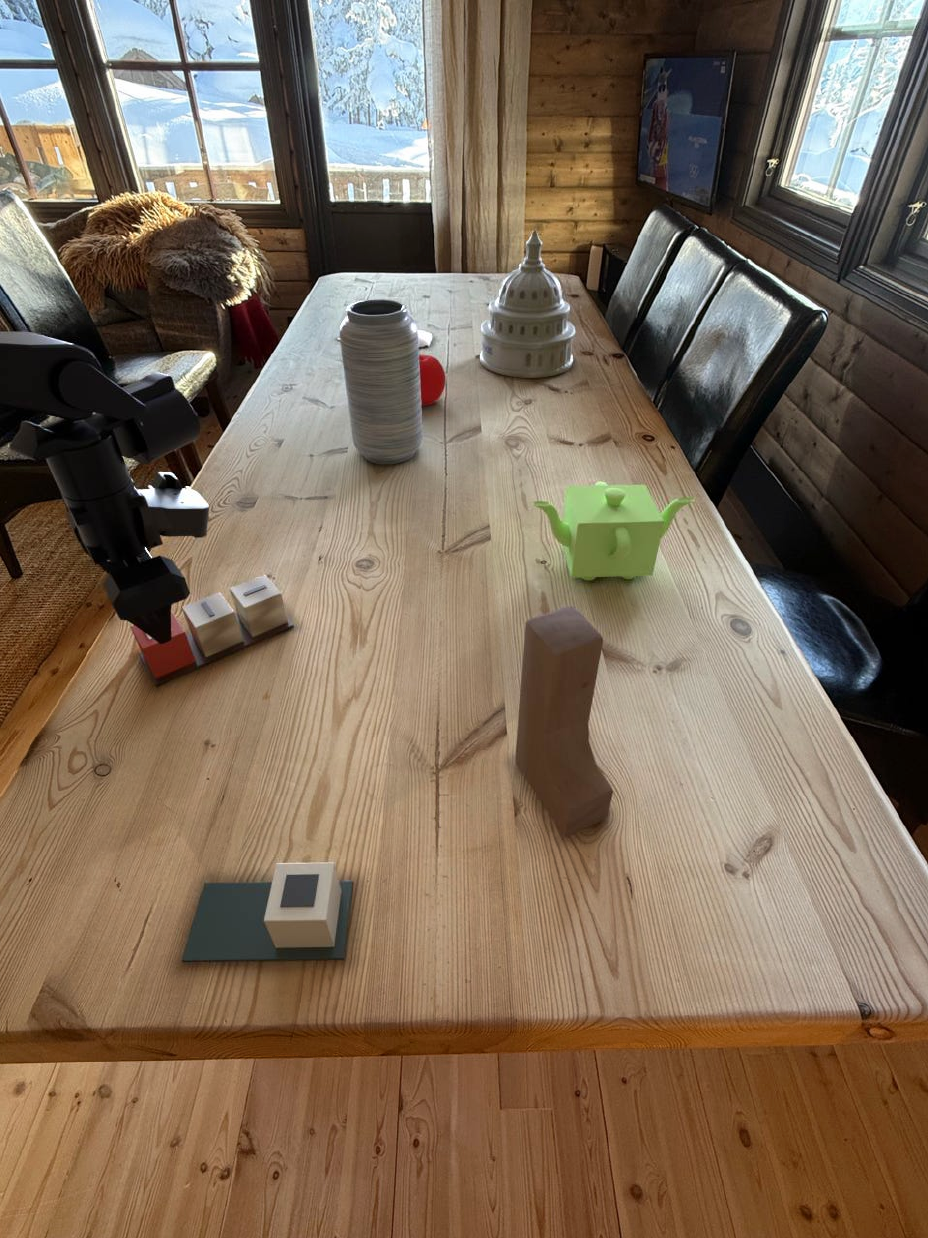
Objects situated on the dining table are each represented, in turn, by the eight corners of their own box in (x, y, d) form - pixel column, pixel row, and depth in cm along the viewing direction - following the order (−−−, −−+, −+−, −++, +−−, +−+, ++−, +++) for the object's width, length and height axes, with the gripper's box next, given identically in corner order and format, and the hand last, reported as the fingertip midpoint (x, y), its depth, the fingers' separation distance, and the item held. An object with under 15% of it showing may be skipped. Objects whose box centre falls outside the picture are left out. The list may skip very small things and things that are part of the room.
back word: (156, 687, 70) (141, 654, 67) (139, 656, 74) (124, 623, 70) (294, 627, 77) (286, 594, 74) (272, 601, 81) (264, 569, 78)
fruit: (410, 389, 131) (407, 337, 125) (452, 396, 129) (451, 343, 122) (390, 407, 125) (385, 353, 118) (433, 414, 122) (432, 360, 116)
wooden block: (608, 820, 58) (643, 676, 46) (564, 840, 56) (589, 697, 44) (553, 746, 64) (573, 602, 52) (513, 762, 62) (523, 618, 51)
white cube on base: (182, 963, 49) (162, 933, 46) (205, 885, 53) (188, 853, 50) (344, 960, 49) (335, 931, 46) (353, 883, 53) (346, 851, 50)
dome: (500, 216, 136) (596, 223, 131) (496, 341, 153) (582, 351, 147) (465, 236, 122) (572, 244, 117) (466, 371, 138) (559, 384, 133)
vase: (340, 451, 111) (321, 306, 96) (396, 431, 117) (385, 291, 102) (381, 476, 104) (366, 324, 89) (437, 454, 110) (432, 307, 95)
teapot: (526, 565, 86) (531, 494, 79) (579, 522, 94) (588, 453, 87) (631, 612, 79) (647, 537, 72) (679, 560, 87) (698, 489, 80)
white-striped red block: (155, 679, 70) (142, 648, 67) (143, 656, 73) (129, 626, 70) (196, 661, 72) (184, 631, 69) (182, 640, 75) (171, 610, 72)
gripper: (223, 499, 56) (260, 634, 67) (155, 425, 68) (196, 550, 78) (85, 543, 51) (148, 682, 62) (37, 455, 63) (97, 585, 73)
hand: (151, 617), depth 69 cm, fingers open, 9 cm apart
